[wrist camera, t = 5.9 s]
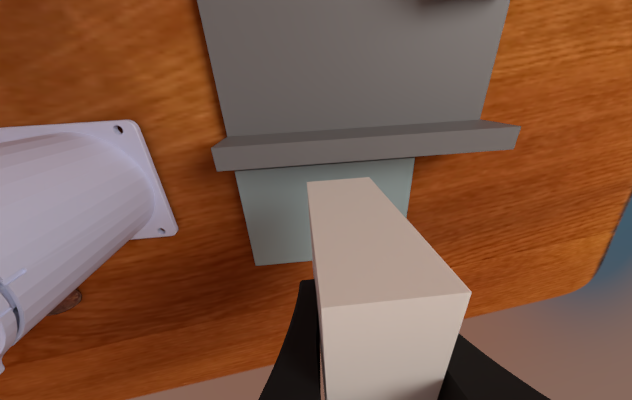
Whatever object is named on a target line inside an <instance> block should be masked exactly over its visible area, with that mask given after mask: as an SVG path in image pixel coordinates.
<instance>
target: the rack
mask: <svg viewBox="0 0 632 400" xmlns="http://www.w3.org/2000/svg"><path fill="white" fill-rule="evenodd" d="M197 3H198V7H199V12H200V16H201V21H202V25H203V30H204V34H205V39H206V43H207V48H208V52H209V56H210V61H211V65H212V70H213V74H214V79H215V83H216V88H217V92H218V97H219V101H220V106H221V110H222V115H223V119H224V124H225V128H226V133H227V137H226V138H225V139H223V140H222V141H220V142H219V143H218V144H216V145H215V146H213V147H212V148H211V151H212V155H213V159H214V162H215V166H216V170H217V171H230V170H243V169H257V168H270V167H283V166H296V165H310V164H323V163H336V162H349V161H363V160H376V159H389V158H402V157H416V156H429V155H442V154H455V153H469V152H482V151H495V150H509V149H514V146H515V143H516V141H517V138H518V135H519V132H520V129H521V126H516V125H510V124H504V123H498V122H492V121H486V120H480V116H481V112H482V108H483V104H484V100H485V96H486V93H487V89H488V85H489V81H490V77H491V73H492V69H493V65H494V61H495V57H496V53H497V50H498V46H499V42H500V38H501V34H502V30H503V26H504V22H505V18H506V14H507V10H508V7H509V3H510V0H197Z"/></svg>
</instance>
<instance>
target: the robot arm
mask: <svg viewBox="0 0 632 400" xmlns="http://www.w3.org/2000/svg"><path fill="white" fill-rule="evenodd" d="M118 126H120V127H121V128H122V129H123V133H121V132H120V131H119V130H118ZM160 228H162V229H164V230H165V231H163V230H161V229H160ZM177 232H178V226H177V223H176V221H175V218H174V216H173V213H172V210H171V208H170V205H169V203H168V200H167V198H166V195H165V192H164V190H163V187H162V185H161V182H160V179H159V177H158V174H157V172H156V169H155V166H154V164H153V161H152V159H151V156H150V153H149V151H148V148H147V146H146V143H145V140H144V138H143V135H142V133H141V130H140V128H139V126H138V124H137V123H135V122H134V121H132V120H113V121H97V122H81V123H65V124H49V125H33V126H18V127H2V128H0V374H1V373H2V372H3V371H4V370H5V367H4V365H3V363H2V357H3V355H4V354H5V353H6V351H7V350H8V349H9V348H10V347H11V346H13V345H14V344H15V343H16V342H18V341H19V340H20V339H21V338H22V337H23V336H24V335H25V334H26V333H27V332H29V331H30V330H31V329H32V328H33V327H34V326H35V325H36V324H37V323H38V322H40V321H41V320H42V319H43V318H44V317H45V316H46V315H47V314H48V313H49V312H51V311H52V310H53V309H54V308H55V307H56V306H57V305H58V304H59V303H60V302H62V301H63V300H64V299H65V298H66V297H67V296H68V295H69V294H70V293H71V292H73V291H74V290H75V289H76V288H77V287H78V286H79V285H80V284H81V283H83V282H84V281H85V280H86V279H87V278H88V277H89V276H90V275H91V274H92V273H94V272H95V271H96V270H97V269H98V268H99V267H100V266H101V265H102V264H103V263H105V262H106V261H107V260H108V259H109V258H110V257H111V256H112V255H113V254H114V253H116V252H117V251H118V250H119V249H120V248H121V247H122V246H123V245H124V244H125V243H127V242H128V241H129V240H132V239H143V238H154V237H166V236H173V235H175V234H176V233H177ZM259 400H321V395H320V335H319V322H318V308H317V295H316V286H315V279H312V280H302V281H301V282H300V286H299V293H298V298H297V302H296V306H295V310H294V313H293V316H292V320H291V323H290V326H289V329H288V332H287V335H286V337H285V340H284V343H283V345H282V348H281V351H280V353H279V356H278V358H277V360H276V363H275V365H274V368H273V370H272V372H271V374H270V376H269V379H268V381H267V383H266V385H265V387H264V389H263V391H262V393H261V395H260V398H259ZM437 400H550V399H549V398H547V397H546V396H544V395H543V394H541V393H539V392H538V391H536V390H535V389H533V388H532V387H531V386H529V385H528V384H526V383H525V382H523V381H522V380H520V379H519V378H518V377H516V376H515V375H513V374H512V373H510V372H509V371H507V370H506V369H504V368H503V367H501V366H500V365H499V364H497V363H496V362H495V361H493V360H492V359H491V358H489V357H488V356H487V355H485V354H484V353H483V352H481V351H480V350H479V349H478V348H476V347H475V346H474V345H472V344H471V343H470V342H469V341H467V340H466V339H465V338H463V336H461V335H460V334H459V333H458V336H457V340H456V343H455V346H454V349H453V352H452V355H451V358H450V361H449V364H448V367H447V370H446V374H445V377H444V380H443V383H442V386H441V389H440V392H439V395H438V398H437Z"/></svg>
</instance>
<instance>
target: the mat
mask: <svg viewBox="0 0 632 400" xmlns="http://www.w3.org/2000/svg"><path fill="white" fill-rule="evenodd" d="M414 161H415V158H414V157H402V158H389V159H376V160H363V161H349V162H336V163H323V164H310V165H296V166H283V167H270V168H257V169H243V170H235V175H236V180H237V184H238V189H239V193H240V198H241V202H242V207H243V211H244V216H245V220H246V225H247V229H248V234H249V238H250V243H251V247H252V251H253V256H254V260H255V265H256V266H261V265H271V264H281V263H292V262H302V261H312V260H313V259H312V246H311V233H310V220H309V207H308V194H307V182H312V181H325V180H338V179H351V178H364V177H370V179H371V180H372V181H373V182H374V183H375V184H376V185H377V186H378V188H379V189H380V190H381V191H382V192H383V193H384V194H385V195H386V197H387V198H388V199H389V200H390V201H391V202H392V203H393V204H394V205H395V207H396V208H397V209H398V210H399V211H400V212H401V213H402V214H403V216H404V217H405V218H406V216H407V209H408V202H409V196H410V189H411V182H412V175H413V168H414Z"/></svg>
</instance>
